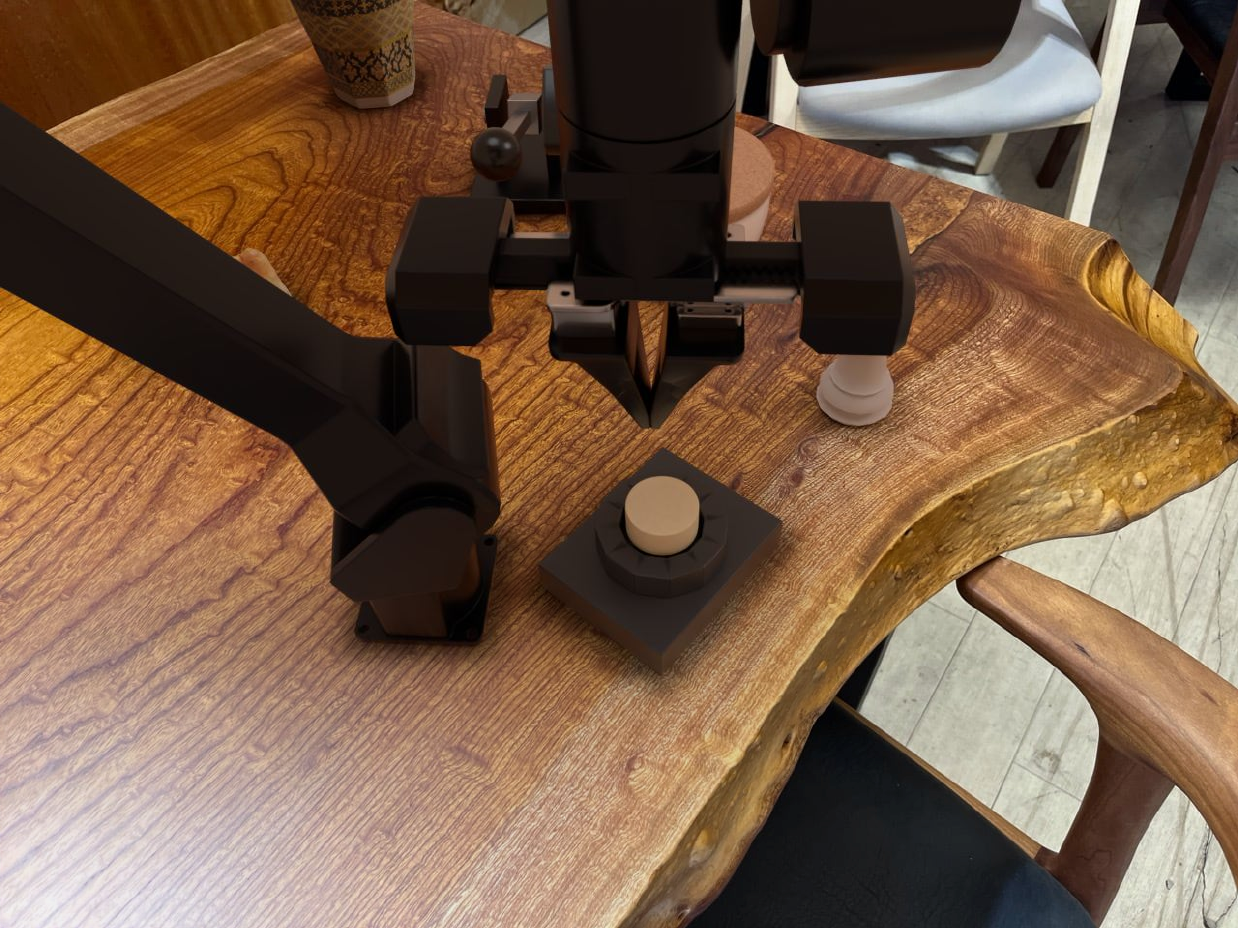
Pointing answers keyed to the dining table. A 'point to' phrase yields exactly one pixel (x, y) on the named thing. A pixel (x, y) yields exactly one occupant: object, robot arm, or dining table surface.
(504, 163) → the lever handle
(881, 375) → the rook chess piece
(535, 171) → the lever bracket
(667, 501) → the button
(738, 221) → the trinket box
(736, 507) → the button housing
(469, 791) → the dining table surface
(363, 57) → the ceramic cup
